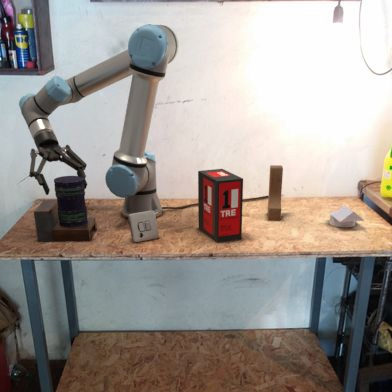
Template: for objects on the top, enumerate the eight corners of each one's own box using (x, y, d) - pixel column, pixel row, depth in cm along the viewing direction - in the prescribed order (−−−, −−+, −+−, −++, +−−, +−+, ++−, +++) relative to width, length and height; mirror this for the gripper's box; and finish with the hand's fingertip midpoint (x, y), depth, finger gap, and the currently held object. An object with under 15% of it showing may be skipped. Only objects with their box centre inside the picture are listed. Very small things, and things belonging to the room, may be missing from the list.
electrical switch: (134, 243, 190) (131, 215, 186) (128, 240, 194) (125, 213, 190) (159, 238, 194) (157, 211, 190) (152, 236, 198) (150, 208, 194)
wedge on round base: (363, 229, 200) (349, 219, 211) (366, 210, 197) (351, 201, 208) (338, 231, 199) (325, 220, 210) (341, 212, 196) (327, 202, 207)
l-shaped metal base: (96, 228, 205) (93, 199, 200) (89, 241, 192) (86, 211, 187) (47, 228, 205) (43, 200, 200) (37, 241, 193) (33, 211, 188)
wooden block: (280, 220, 211) (283, 170, 202) (268, 220, 211) (271, 170, 202) (279, 213, 219) (282, 165, 210) (267, 213, 219) (270, 165, 210)
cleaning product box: (241, 239, 192) (243, 178, 183) (217, 242, 190) (217, 181, 180) (221, 225, 206) (222, 168, 196) (198, 228, 203) (198, 170, 193)
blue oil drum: (72, 217, 203) (67, 174, 195) (94, 221, 198) (89, 177, 191) (53, 224, 195) (47, 180, 188) (75, 229, 191) (69, 183, 183)
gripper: (75, 140, 206) (97, 190, 203) (7, 148, 194) (29, 201, 190) (80, 126, 200) (103, 178, 196) (9, 133, 187) (33, 188, 184)
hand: (67, 189), depth 193 cm, fingers open, 13 cm apart
